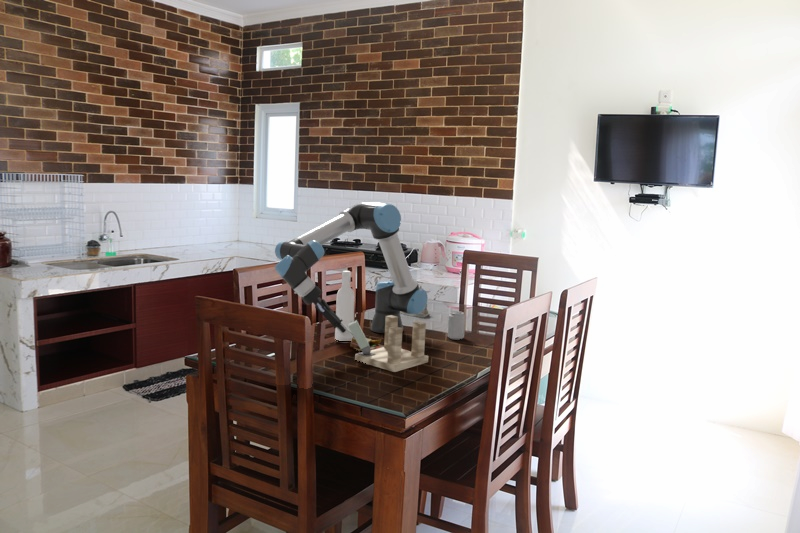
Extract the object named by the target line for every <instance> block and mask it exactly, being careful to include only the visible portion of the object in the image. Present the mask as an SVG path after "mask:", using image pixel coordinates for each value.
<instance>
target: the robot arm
mask: <svg viewBox="0 0 800 533" xmlns="http://www.w3.org/2000/svg"><path fill="white" fill-rule="evenodd" d="M401 221H402V215H401V212H400V210H399V209H398V208H397V206H395V205H394V204H391V203H388V202H371V201H363V202H359V203H356V204H354V205H352V206H349V207H348V208H346V209H344V210H342V211H340V212H339V213H338V216H336V217H334V218H331V219H330V220H328V221H326V222H324V223H322V224H321V225H318V226H317V227H315V228H313V229H311V230H308V231H307V232H305V233H303V234H302V235H299V236H297V237H295V238H294V239H292V240H290V241H285V240H284V241H280V242H278V243H277V244H276V246H275V248H274V253H275V254H274V255H275V256H276V258H277V259H278V260H280V261H279V262H278V263H277V264H275V266H274V268H275V269H274V270H276V273H278V275H279V276H280V277H281V278H282V279H283V281H285V283H286V284H288V285H289V287H290V288H291V289H292V290H293V291H294V292H293V293H294V294H295V295H296V294H297V295H298V296H299V297H300V298H301V299H302V301H303V302H304V303H305V305H307V306H310V305H311V304H314V307H315V310H316V311H318V313H320V314H321V315H322V316H323V317H324V318H325V319H326V320H327V321H328V322H329V323H330V324H331V325H332V327H333V329H335V328H337V329H338V330H339V331H340V332H341V333H342V334H343V335H344V337H345V338H346V339H347V340H348V339H349V338H351V337H352V336H353V334H352V333H351V332H350V331H349V330H348V328H347V327H346V326H345V325H344V324H343V323H342V321H343V320H342V319H341V320H340V318H339V317H338V316H337V315H336V312H334V311H333V309H332V308H331V306H329V304H328V303H327V302H326V300H325V299H324V298H321V296H322V294H323V291H322V290H321V289H320V288H319V286H318V285H316V282H314V280H312V278H310V276H309V275H308V274H307V273H306V272H308V271H309V270H310V269H311V268H313V266H314V265H316V264H317V263H318V262H319V261H320V260H321V259H322V258H323V256H324V255H325V249H324V247H323V245H325V244H327V243H328V242H331V241H332V240H334V239H337V238H338V237H339V236H341V235H343V234H345V233H347V232H348V233H352V232H354V231H356V230H370V232H371V235H372V238H373V239H374V240H376V241H378V245H379V246H380V250H381V252H382V254H383V258H384V261H385V263H386V266H387V269H388V272H389V274H390V276H391V280H385V281H378V282H377V283H376V286H375V298H374V299H375V303H374V305H375V307H374V310H375V311H374V315H373V318H372V321H371V324H370V331H372V332H373V333H378V334H379V333H380V334H385V319H386V316H390V315H393V316H397V317H398V327H401V328H402V332H403V331H404V325H403V321H402V317H401V313H400V311H401V312H405V313H408V314H415V315H416V314H419V313H421V312H422V311H423V310H424V308H425V307H426V304H427V305H428V293H427V291H426V290H425V289H423V288H422V289H420V288H419V287H420V285H419V283H418V281H417V280H416V279H414V278H413V276H412V273H411V270H410V268H409V267H410V266H409V264H408V262H407V258H406V255H405V253H404V249H403V246H402V243H401V240H400V238H399V236H398V233H399V232H400V226H401ZM353 337H354V336H353Z"/></svg>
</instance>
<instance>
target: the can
mask: <svg viewBox="0 0 800 533" xmlns="http://www.w3.org/2000/svg"><path fill="white" fill-rule="evenodd" d="M447 318H448V320H447V334H446V336H447V337H448V339H450V340H457V341H459V340H460V339H461V340H463V339H464V338H465V329H466V328H465V326H466V325H465V324H466V315H465V312H463V311H459V310H457V311H456V310H455V311H454V310H453V311H449V314H448V317H447Z"/></svg>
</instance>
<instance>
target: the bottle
mask: <svg viewBox="0 0 800 533" xmlns="http://www.w3.org/2000/svg"><path fill="white" fill-rule="evenodd" d="M351 277H352V272H351V271H350V270H343V271H342V273H341V288H339V289H338V291H337V293H336V299H335V300H336V304H335V305H336V306H335V308H336V309H335V314H336V315H337V316H338V317H339V318H340V320H341V319H342V320H343V321H342V323H343V324H344V325H345V326H346V327H347V328H348V330H349V331H350V332H351V330H350V328H349V326H348V324H350V323H352V322H353V321H355V304H356V303H355V297H356V295H355V292H354V289H352V288H351V279H352V278H351ZM351 333H352V332H351ZM353 337H354V336H352V337H351V338H349V339H348V340H347V339H346V338H345V337H344V335H343V334H342V333H341V332H340V331H339V330H338V329H337V328H335V331H334V340H335V339H336V340H339V341H352V338H353ZM336 340H335V341H336Z"/></svg>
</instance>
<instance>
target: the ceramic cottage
mask: <svg viewBox="0 0 800 533" xmlns="http://www.w3.org/2000/svg"><path fill="white" fill-rule="evenodd" d="M419 288H420V289H423V288H422V285H419ZM429 313H430V312H429V310H428V303H427V304H426V307H425V308H424V310H423V311H422V312H421V313H419V314H416V315H415V314H408V313H405V312H401V311H400V315H402V314H403V315H406V316H409V317H414V318H426V317H427V316H429Z"/></svg>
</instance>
